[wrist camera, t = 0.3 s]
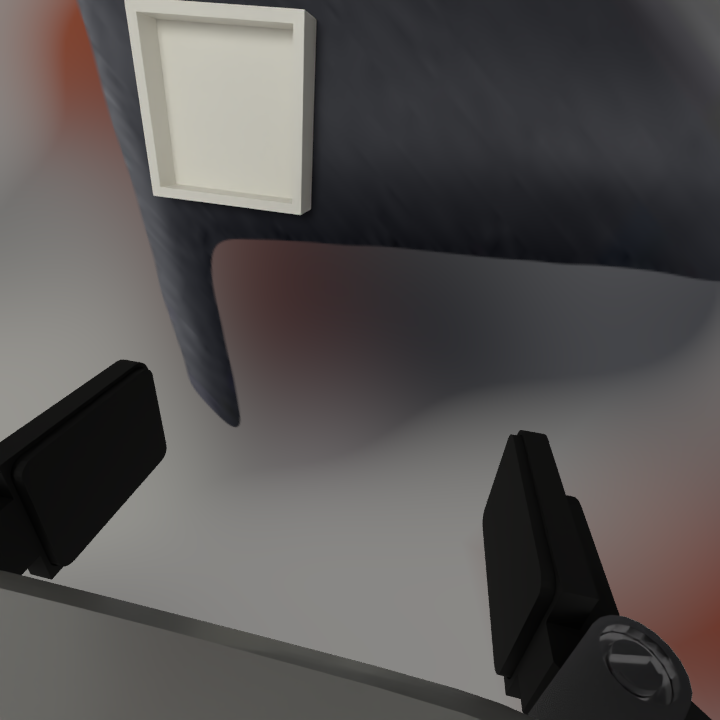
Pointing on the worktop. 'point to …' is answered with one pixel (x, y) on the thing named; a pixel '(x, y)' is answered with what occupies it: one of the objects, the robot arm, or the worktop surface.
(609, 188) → the worktop surface
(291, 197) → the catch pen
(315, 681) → the robot arm
